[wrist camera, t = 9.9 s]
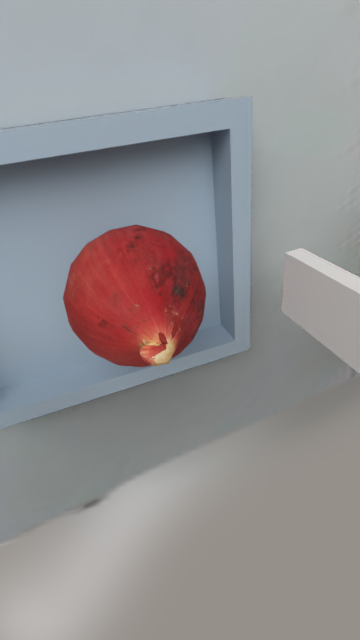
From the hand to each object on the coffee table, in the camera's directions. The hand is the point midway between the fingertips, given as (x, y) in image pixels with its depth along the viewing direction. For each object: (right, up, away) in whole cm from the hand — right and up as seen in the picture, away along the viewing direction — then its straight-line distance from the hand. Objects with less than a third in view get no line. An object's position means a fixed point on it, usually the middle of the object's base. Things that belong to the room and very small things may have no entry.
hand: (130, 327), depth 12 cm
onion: (-1, +3, +5) cm, 6 cm away
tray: (-3, +3, +6) cm, 7 cm away
